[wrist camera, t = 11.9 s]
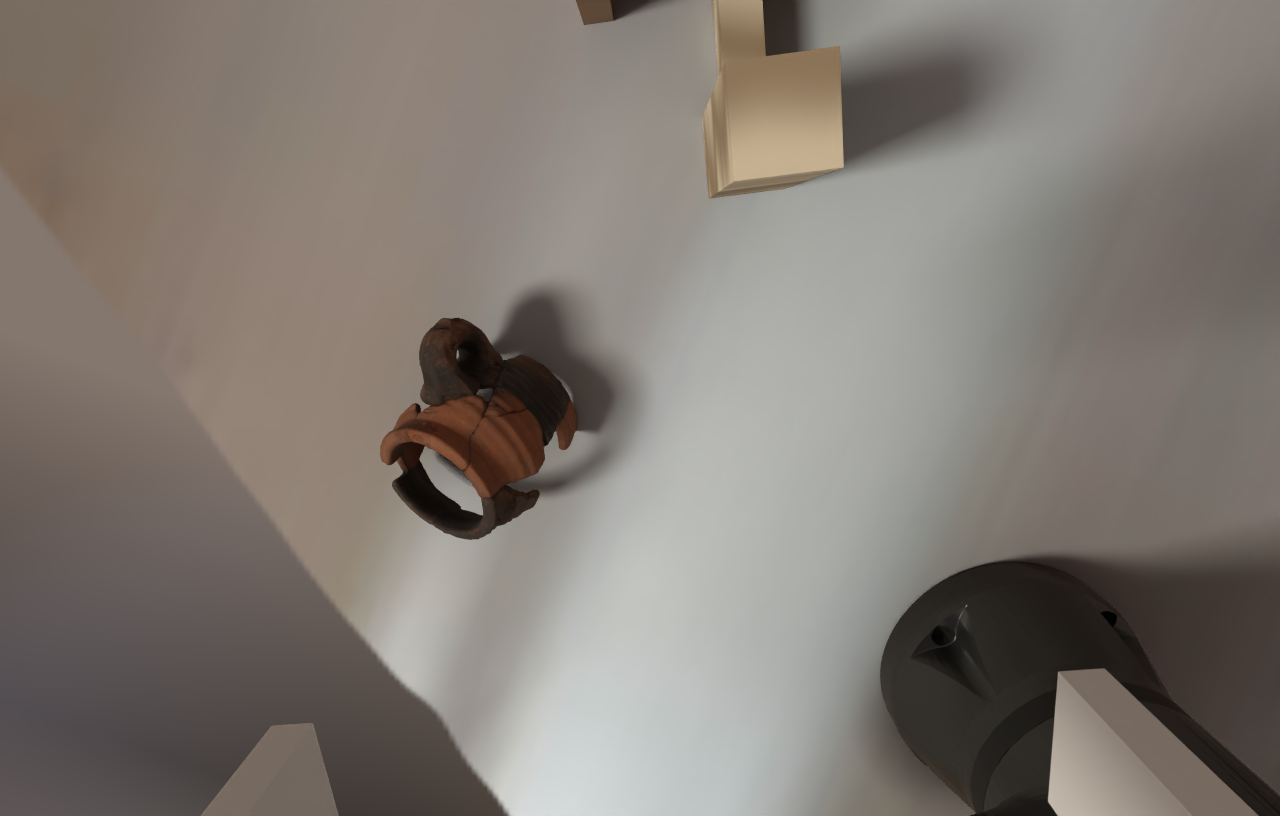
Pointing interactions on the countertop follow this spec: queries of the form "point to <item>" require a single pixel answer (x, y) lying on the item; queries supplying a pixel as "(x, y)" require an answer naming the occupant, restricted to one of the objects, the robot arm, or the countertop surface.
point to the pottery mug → (477, 428)
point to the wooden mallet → (768, 109)
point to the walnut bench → (595, 11)
